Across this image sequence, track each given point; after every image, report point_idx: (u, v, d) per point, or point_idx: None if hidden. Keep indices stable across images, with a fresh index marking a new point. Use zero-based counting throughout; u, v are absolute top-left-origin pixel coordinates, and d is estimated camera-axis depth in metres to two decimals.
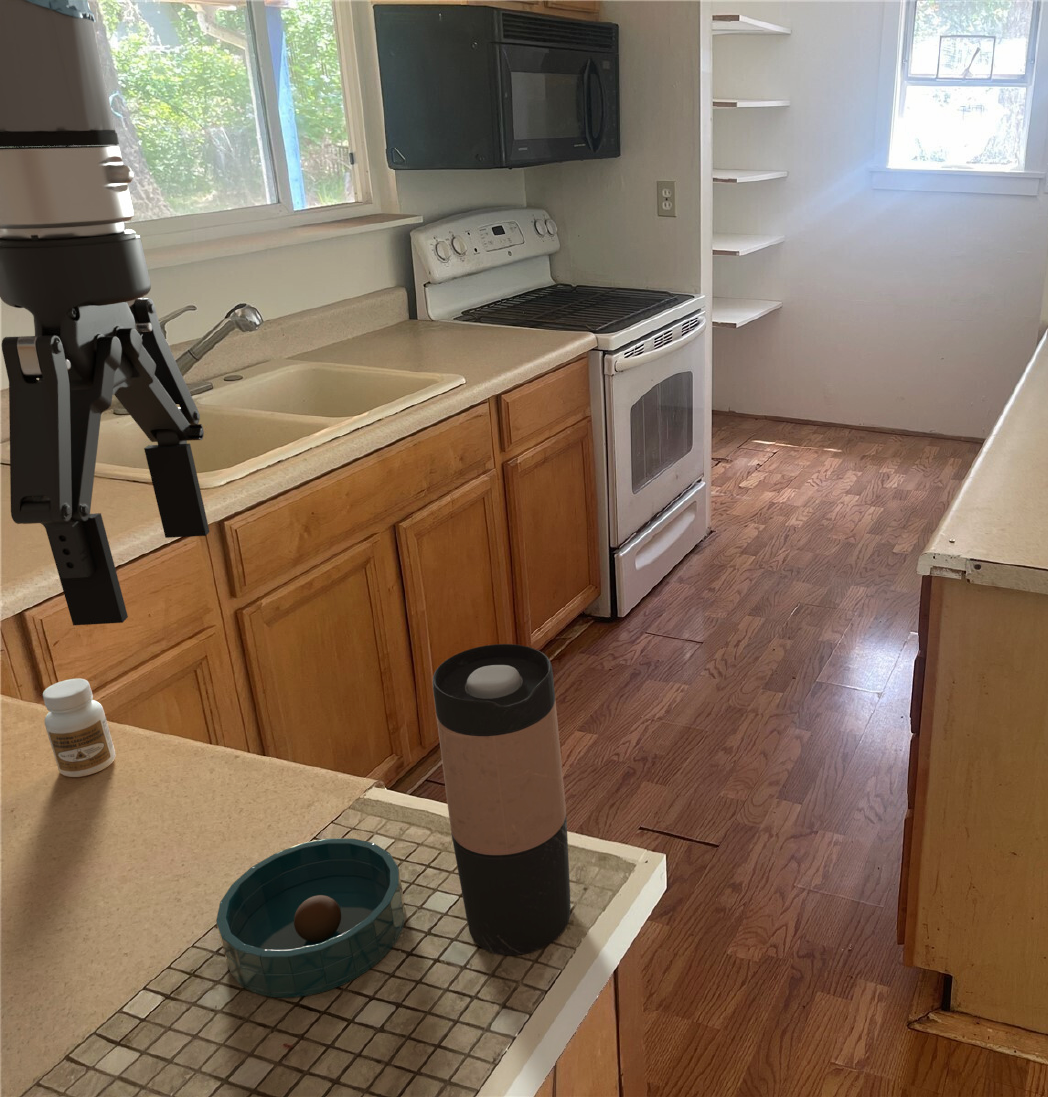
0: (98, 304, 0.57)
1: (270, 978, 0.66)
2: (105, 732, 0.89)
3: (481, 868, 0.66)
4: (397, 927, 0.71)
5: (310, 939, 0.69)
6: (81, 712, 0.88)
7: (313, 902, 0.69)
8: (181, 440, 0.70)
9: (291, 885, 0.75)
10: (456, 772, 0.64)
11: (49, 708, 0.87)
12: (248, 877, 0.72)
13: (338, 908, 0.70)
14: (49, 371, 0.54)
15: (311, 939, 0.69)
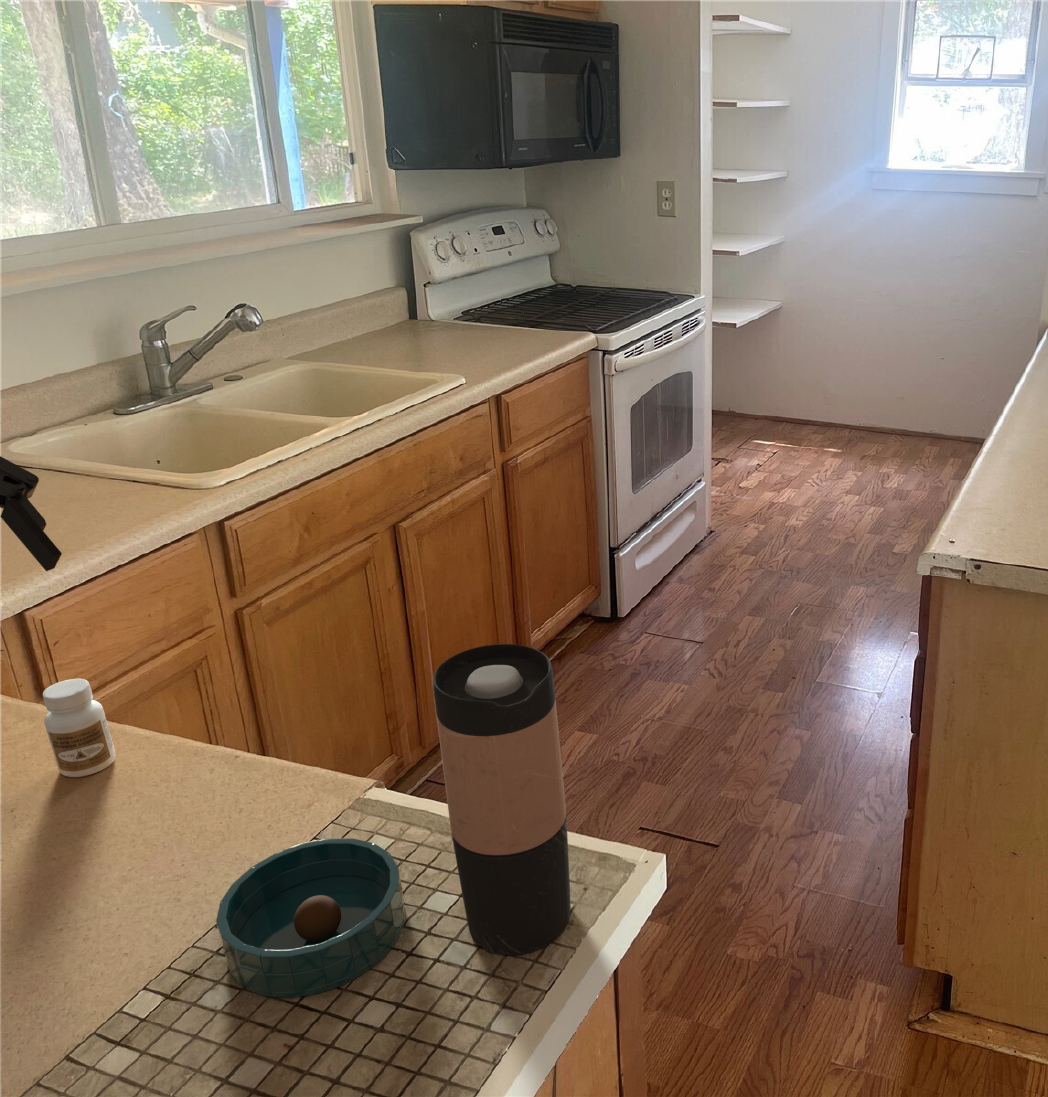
0: None
1: (270, 978, 0.66)
2: (104, 732, 0.89)
3: (481, 868, 0.66)
4: (397, 927, 0.71)
5: (310, 939, 0.69)
6: (81, 712, 0.88)
7: (313, 902, 0.69)
8: None
9: (291, 885, 0.75)
10: (456, 772, 0.64)
11: (49, 708, 0.87)
12: (248, 877, 0.72)
13: (338, 908, 0.70)
14: None
15: (311, 939, 0.69)
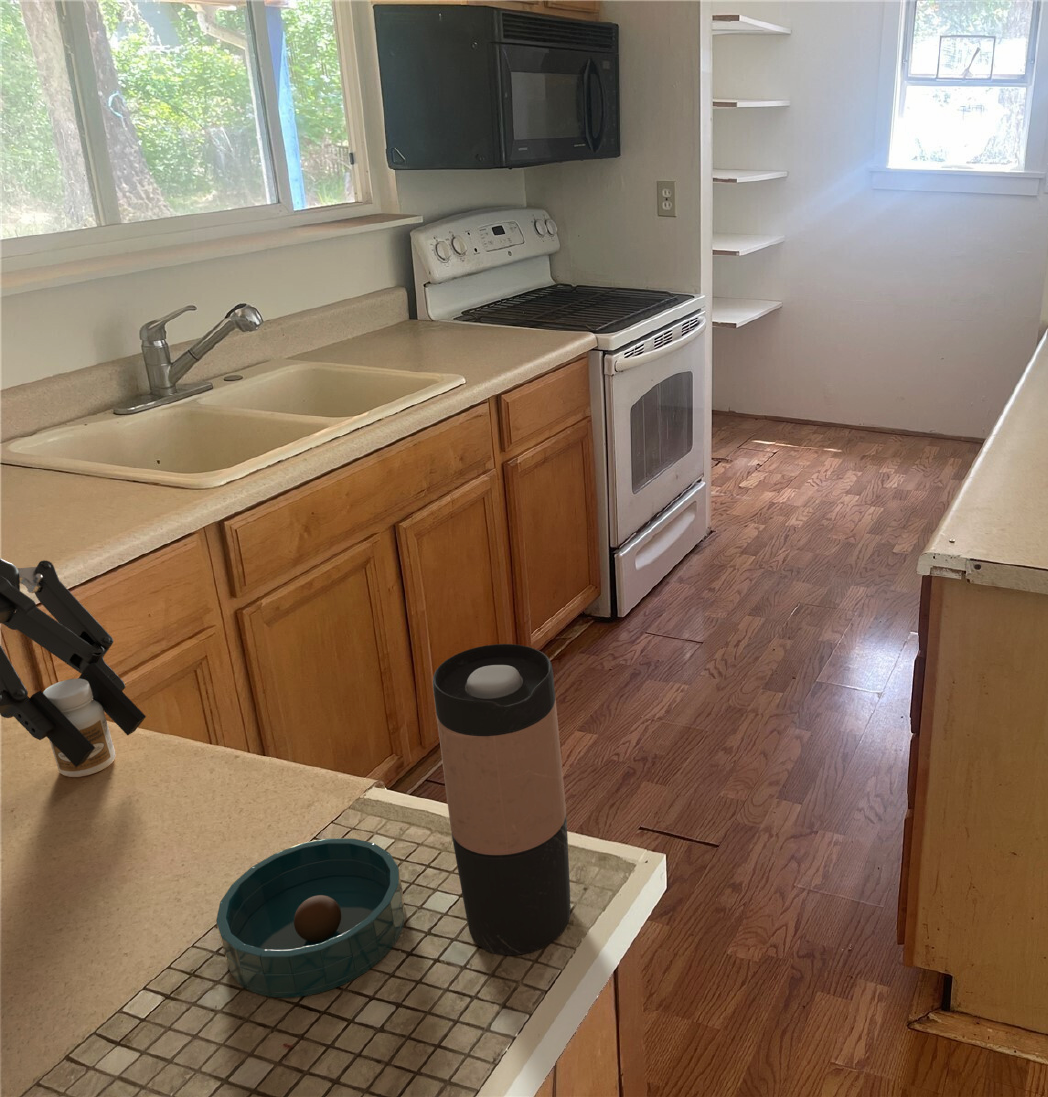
0: None
1: (270, 978, 0.66)
2: (104, 732, 0.89)
3: (481, 868, 0.66)
4: (397, 927, 0.71)
5: (310, 939, 0.69)
6: (81, 712, 0.88)
7: (313, 902, 0.69)
8: None
9: (291, 885, 0.75)
10: (456, 772, 0.64)
11: None
12: (248, 877, 0.72)
13: (338, 908, 0.70)
14: None
15: (311, 939, 0.69)
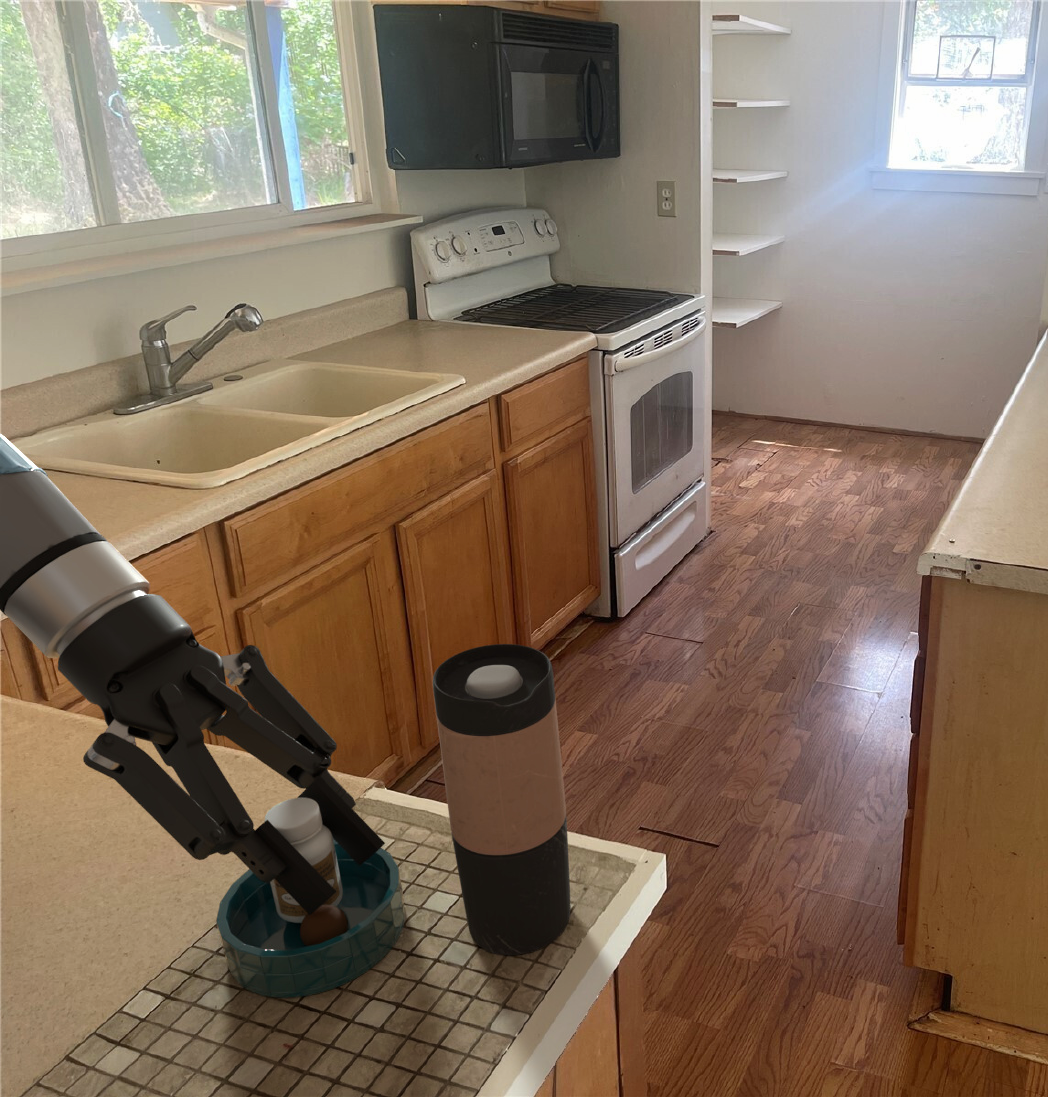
0: None
1: (270, 978, 0.66)
2: (335, 865, 0.71)
3: (481, 868, 0.66)
4: (397, 927, 0.71)
5: None
6: (312, 843, 0.69)
7: (325, 924, 0.68)
8: None
9: None
10: (456, 772, 0.64)
11: None
12: (248, 877, 0.72)
13: (346, 926, 0.69)
14: None
15: None
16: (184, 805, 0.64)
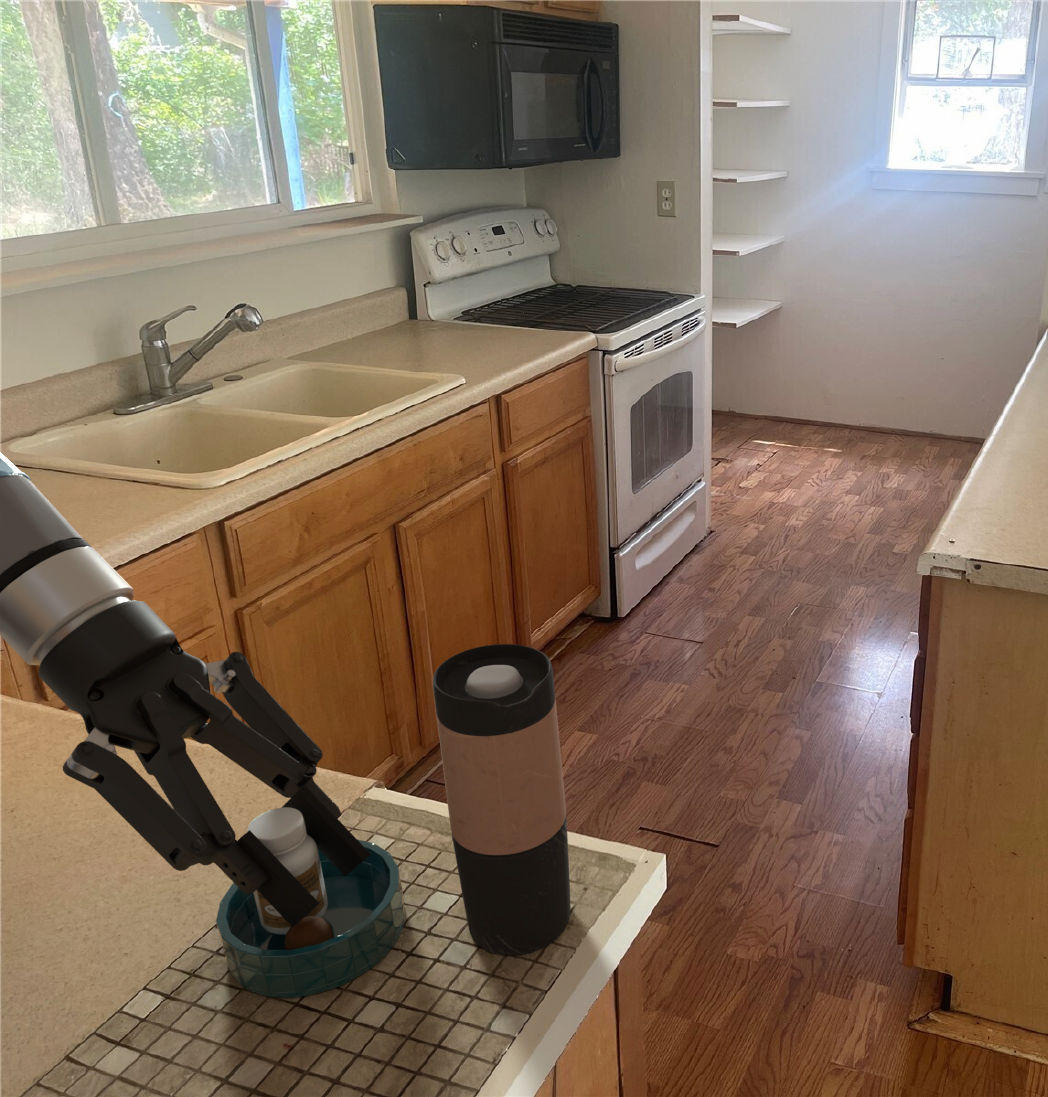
0: None
1: (270, 978, 0.66)
2: (319, 876, 0.70)
3: (481, 868, 0.66)
4: (397, 927, 0.71)
5: None
6: (295, 854, 0.68)
7: (300, 941, 0.67)
8: None
9: None
10: (456, 772, 0.64)
11: None
12: None
13: (325, 927, 0.68)
14: None
15: None
16: (164, 815, 0.63)
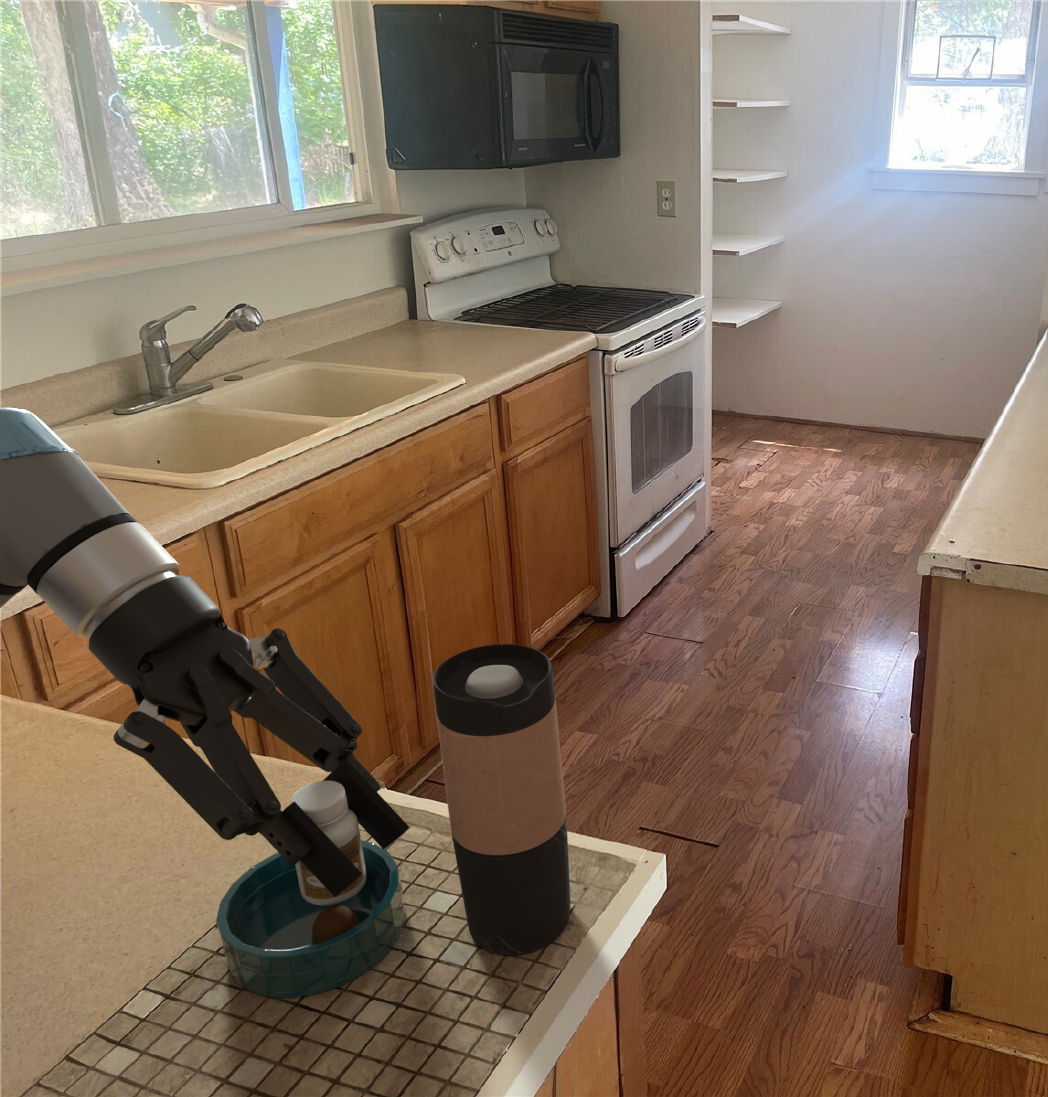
0: None
1: (270, 978, 0.66)
2: (359, 848, 0.71)
3: (481, 868, 0.66)
4: (397, 927, 0.71)
5: None
6: (337, 826, 0.69)
7: (347, 921, 0.68)
8: None
9: (291, 885, 0.75)
10: (456, 772, 0.64)
11: None
12: (248, 877, 0.72)
13: None
14: None
15: None
16: (213, 785, 0.64)
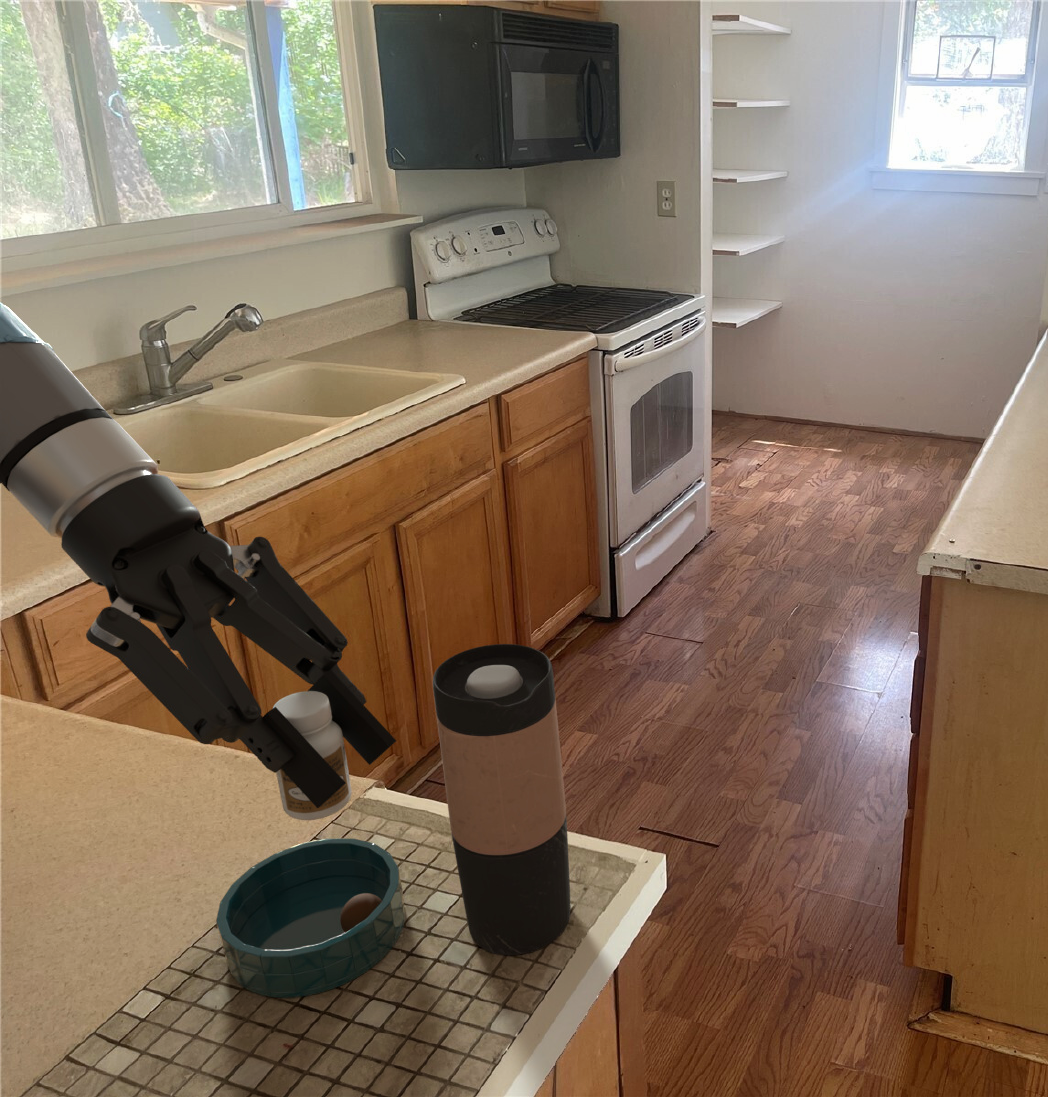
0: None
1: (270, 978, 0.66)
2: (344, 762, 0.68)
3: (481, 868, 0.66)
4: (397, 927, 0.71)
5: (350, 916, 0.69)
6: (321, 736, 0.67)
7: None
8: None
9: (291, 885, 0.75)
10: (456, 772, 0.64)
11: None
12: (248, 877, 0.72)
13: None
14: None
15: (350, 917, 0.69)
16: (190, 685, 0.61)
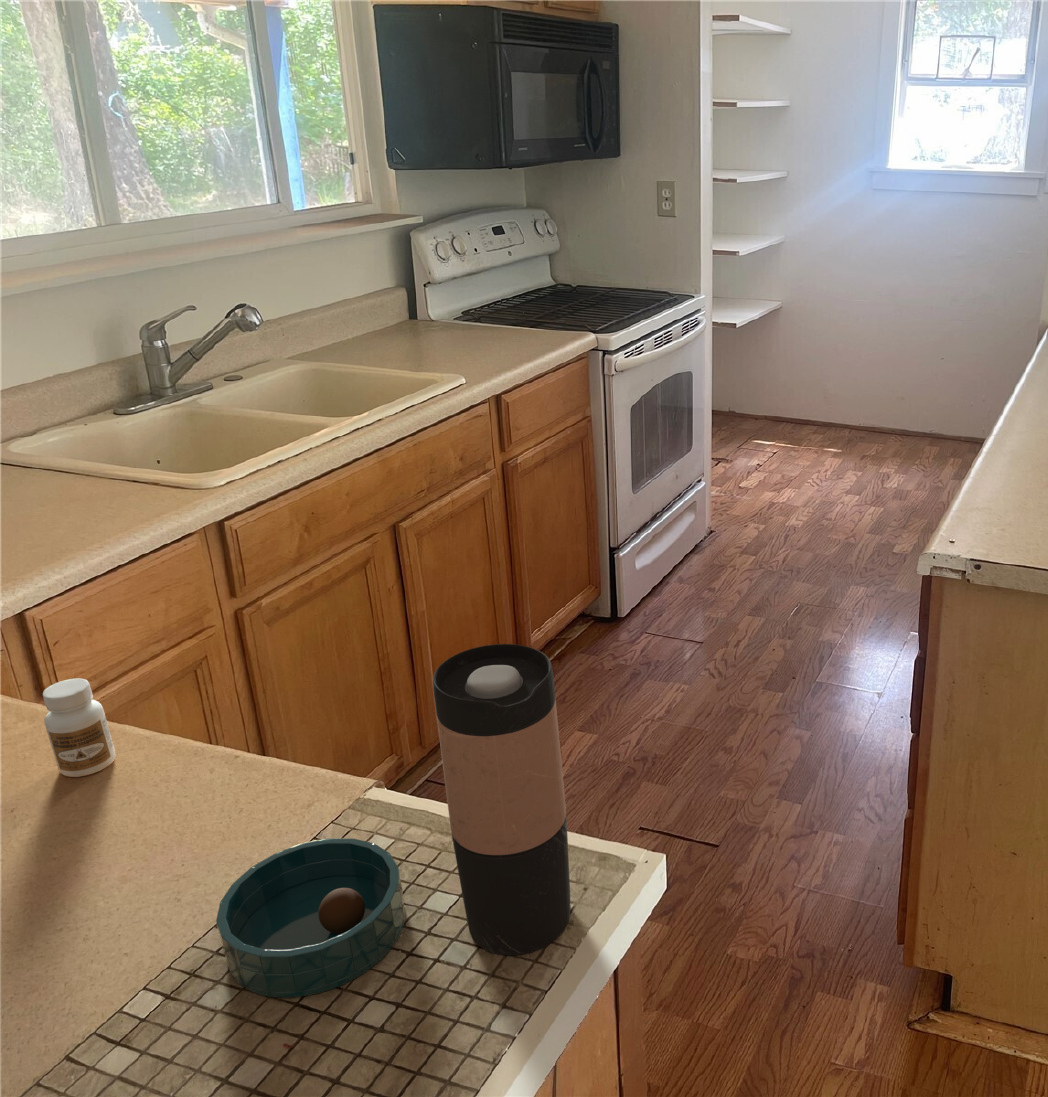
0: None
1: (270, 978, 0.66)
2: (104, 732, 0.90)
3: (481, 868, 0.66)
4: (397, 927, 0.71)
5: (319, 914, 0.70)
6: (81, 712, 0.88)
7: (351, 895, 0.70)
8: None
9: (291, 885, 0.75)
10: (456, 772, 0.64)
11: (49, 708, 0.87)
12: (248, 877, 0.72)
13: (354, 921, 0.70)
14: None
15: (319, 915, 0.70)
16: None
